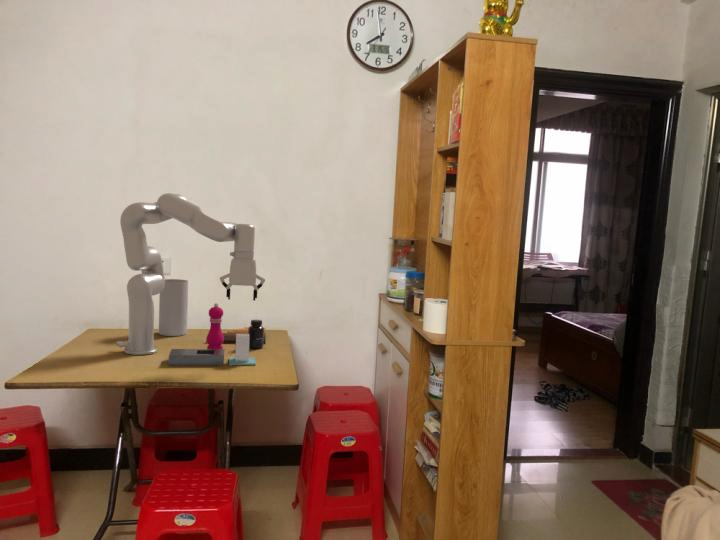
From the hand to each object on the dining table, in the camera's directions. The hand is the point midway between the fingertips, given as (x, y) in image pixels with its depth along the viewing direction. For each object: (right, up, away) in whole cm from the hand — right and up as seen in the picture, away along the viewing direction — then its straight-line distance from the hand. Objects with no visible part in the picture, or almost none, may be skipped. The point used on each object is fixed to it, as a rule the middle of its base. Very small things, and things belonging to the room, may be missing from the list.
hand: (241, 299), depth 226 cm
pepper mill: (-15, -22, +18) cm, 32 cm away
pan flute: (-11, -21, +44) cm, 50 cm away
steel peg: (0, -24, +1) cm, 24 cm away
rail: (-17, -24, -3) cm, 29 cm away
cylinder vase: (-41, -19, +45) cm, 64 cm away
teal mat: (0, -25, +1) cm, 25 cm away
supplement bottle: (+1, -23, +27) cm, 35 cm away
